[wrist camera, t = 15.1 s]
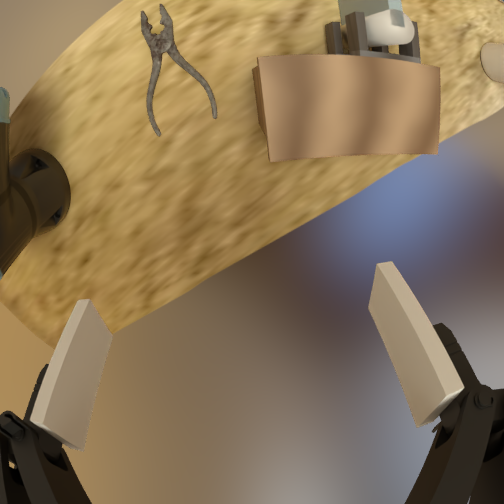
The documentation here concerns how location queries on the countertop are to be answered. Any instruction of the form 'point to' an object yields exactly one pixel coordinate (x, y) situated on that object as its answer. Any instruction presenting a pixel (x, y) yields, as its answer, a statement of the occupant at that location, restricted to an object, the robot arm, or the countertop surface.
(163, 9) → the pliers
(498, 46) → the pill bottle
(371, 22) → the door
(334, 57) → the cabinet
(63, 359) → the robot arm
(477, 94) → the countertop surface
